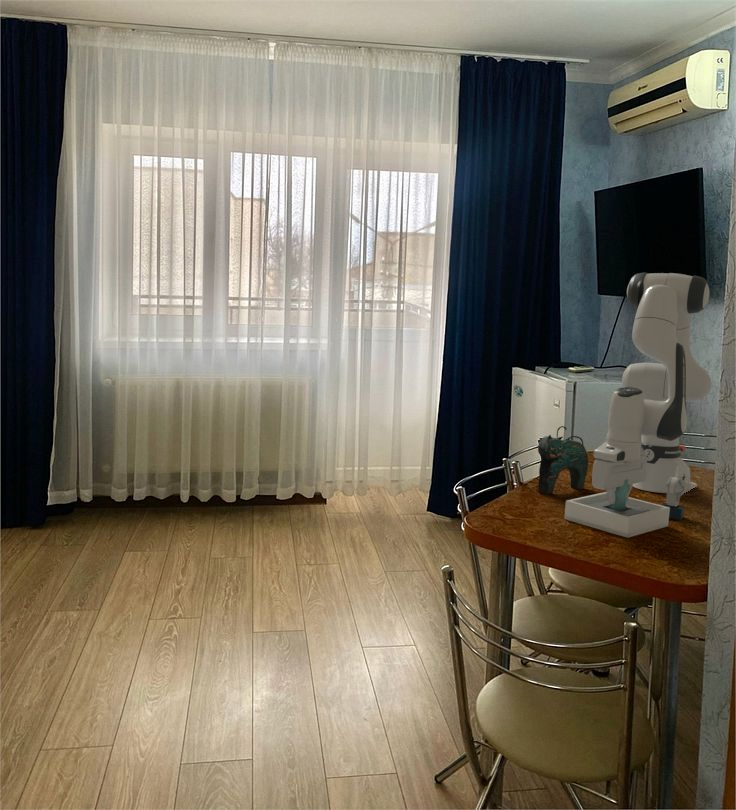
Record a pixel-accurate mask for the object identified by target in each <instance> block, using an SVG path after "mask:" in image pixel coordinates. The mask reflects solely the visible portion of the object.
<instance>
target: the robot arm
mask: <svg viewBox="0 0 736 810" xmlns="http://www.w3.org/2000/svg"><path fill="white" fill-rule="evenodd" d="M626 296H627V297H626V298H627V301H628V304H629V305H630V306H631V307H632V308H634V309H636V313H635V317H634V320H633V321H634V322H633V324H632V325H633V326H632V331H631V332H632V334H631V339H632V343H633V345H634V346H635V348H636V349H637V350H638V352H640V353H641V354H643V355H644V356H645V357H647V358H649V359H652V360H653V361H655V362H638V363H637V362H636V363H631V364H629V365H628V366H627V367H626V368H625V369H624V371H623V374H622V376H621V378H622V379H621V382H622V386H623V387H618V388H616V389H614V391H613V392H612V396H611V398H610V399H611V400H610V403H609V408H608V415H607V416H608V417H607V423H608V424H607V425H608V431H607V434H606V437H605V441H604V442H603V443H602V444H601V445H600V446H598V447H596V449H594V451H593V458H595V460H594V461H593V465H592V471H591V472H592V474H591V484H592V486H593V488H595V489H598V490H602V491H605V492H607V495H608V503H610V504H614V503H617V497H615V491H616V487H621V486H623V485H624V480H627V479H628V488H627V498H626V501H627V500H628V498H629V495H630V493H631V491H632V489H633V487H634V488H635V489H638V490H642V491H646V492H652V493H657V494H658V493H661V494H667V492H668V487H667V485H665V484H666V483H668V480H669V479H670V477H678V478H681V479H682V480H684V481H685V483H686V488H685V490H684V492H683V494H682V495H685V494H686V492H687V493H689V492H690V490H691V489H693V488H695V487H696V486H697V487H698V483H695V482H693V481H691V468H690V467H689V466H688V464H687V463H686V462H685V461H684V460H683V459H682V457H681V456H682V454H681V453H682V452H685V450H686V446H685V445H683V444H680V437H682V436H683V435H684V434H685V431H686V429H687V425H688V415H687V408H686V407H687V403H686V402H696V401H703V400H704V399H706V397H707V396H708V395H709V393H710V391H711V388H712V378H711V377H710V374H709V372H708V371H707V370H706V369H704V368H703V367H702V366H701V365H700V364H699V363H698V362H697V361H696V359H695V358H694V356H693V354H692V352H691V347H690V330H691V320H692V319H691V314H697V313H700V312H701V311H703V310H704V309H705V308H706V305H707V304H708V302H709V299H710V288H709V283H708V281H707V280H706V279H705V278H704V277H701V276H698V275H693V276H692V275H689V274H688V275H687V274H684V273H683V274H682V273H675V272H674V273H673V272H669V273H664V272H660V273H659V272H657V273H656V272H655V273H648V272H640V273H639V272H638V273H636V274H634V275H633V276H632V277H631V278H630V280H629V283H628V285H627V288H626ZM697 487H696V488H697ZM696 488H695V489H696ZM693 490H694V489H693ZM688 491H689V492H688ZM691 491H692V490H691ZM684 493H685V494H684Z"/></svg>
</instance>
